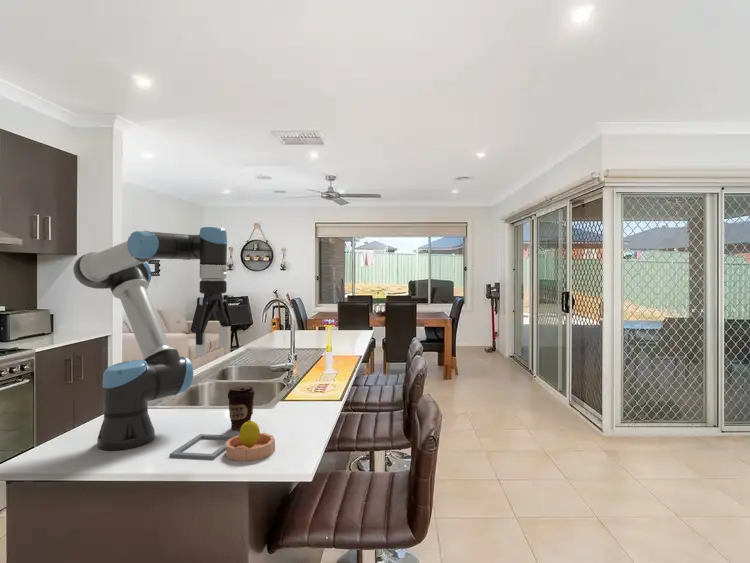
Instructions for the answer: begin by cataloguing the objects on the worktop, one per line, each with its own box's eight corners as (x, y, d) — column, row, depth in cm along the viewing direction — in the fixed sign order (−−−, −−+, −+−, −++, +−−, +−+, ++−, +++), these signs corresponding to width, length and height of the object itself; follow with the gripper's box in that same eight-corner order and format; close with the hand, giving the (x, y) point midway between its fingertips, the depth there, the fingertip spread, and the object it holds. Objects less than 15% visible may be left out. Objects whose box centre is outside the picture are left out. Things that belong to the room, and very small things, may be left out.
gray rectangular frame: (169, 456, 127) (169, 453, 127) (200, 436, 143) (200, 434, 143) (214, 459, 125) (214, 456, 125) (240, 438, 141) (240, 435, 141)
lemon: (242, 445, 133) (241, 417, 133) (261, 444, 133) (261, 416, 133) (237, 452, 127) (237, 423, 127) (258, 452, 128) (257, 423, 128)
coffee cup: (247, 432, 146) (246, 391, 146) (222, 431, 148) (222, 390, 147) (259, 424, 154) (258, 385, 154) (236, 422, 156) (235, 384, 156)
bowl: (217, 459, 125) (217, 448, 125) (238, 442, 138) (238, 432, 138) (263, 461, 123) (263, 450, 123) (281, 444, 136) (280, 433, 136)
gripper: (203, 281, 124) (202, 360, 125) (243, 279, 149) (242, 345, 150) (177, 280, 126) (176, 359, 126) (221, 278, 150) (221, 344, 151)
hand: (212, 351), depth 138 cm, fingers open, 13 cm apart
